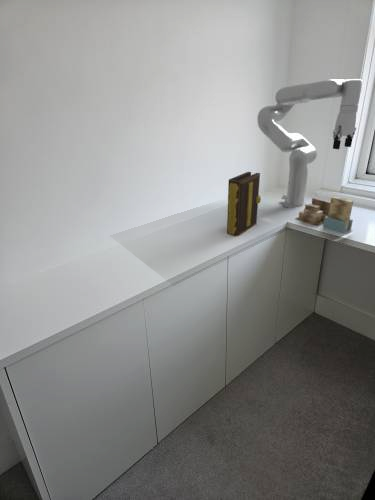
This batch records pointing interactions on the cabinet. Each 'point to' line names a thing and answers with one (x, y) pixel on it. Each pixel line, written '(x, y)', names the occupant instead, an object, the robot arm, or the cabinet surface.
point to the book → (242, 203)
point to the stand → (336, 224)
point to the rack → (315, 212)
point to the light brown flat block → (340, 209)
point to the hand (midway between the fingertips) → (341, 147)
